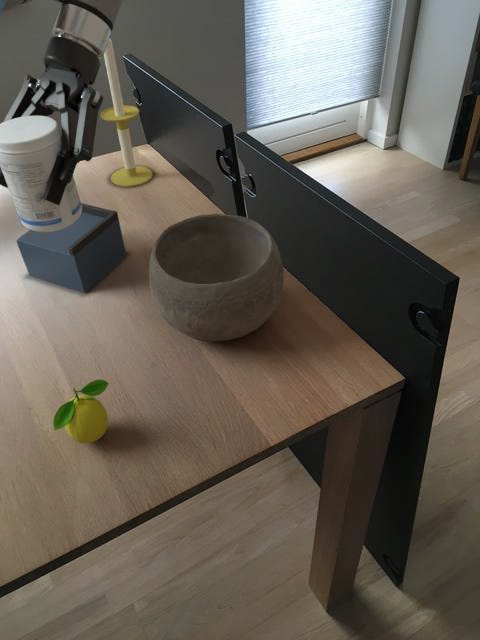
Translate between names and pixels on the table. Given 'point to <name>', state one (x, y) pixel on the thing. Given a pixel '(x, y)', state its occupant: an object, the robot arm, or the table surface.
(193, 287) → the bowl
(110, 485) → the table surface
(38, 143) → the supplement tub
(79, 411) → the lemon
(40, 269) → the blue storage bin
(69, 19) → the robot arm
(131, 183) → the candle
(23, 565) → the table surface
